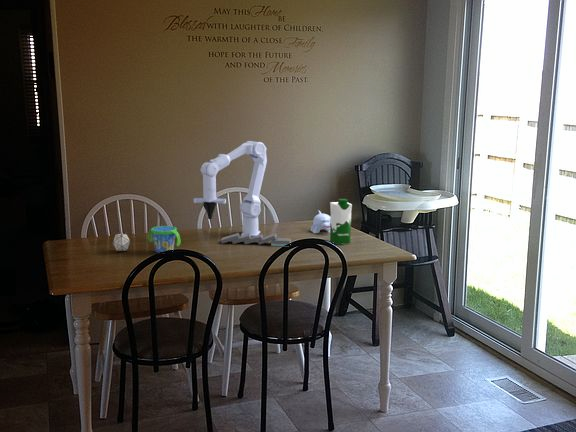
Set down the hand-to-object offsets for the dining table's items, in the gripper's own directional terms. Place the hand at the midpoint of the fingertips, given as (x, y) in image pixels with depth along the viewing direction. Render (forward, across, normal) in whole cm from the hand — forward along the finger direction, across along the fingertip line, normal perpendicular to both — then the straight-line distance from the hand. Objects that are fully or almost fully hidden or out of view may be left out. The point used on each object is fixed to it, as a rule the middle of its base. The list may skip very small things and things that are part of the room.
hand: (210, 218), depth 284 cm
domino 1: (+9, +6, -4) cm, 12 cm away
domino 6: (+10, +29, -4) cm, 31 cm away
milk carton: (+10, +59, +4) cm, 60 cm away
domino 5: (+8, +29, -4) cm, 31 cm away
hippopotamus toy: (+10, +50, +25) cm, 57 cm away
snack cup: (+10, -14, -24) cm, 30 cm away
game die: (+10, -32, -26) cm, 42 cm away
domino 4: (+9, +23, -4) cm, 25 cm away
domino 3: (+9, +17, -4) cm, 19 cm away
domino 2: (+9, +11, -4) cm, 15 cm away
